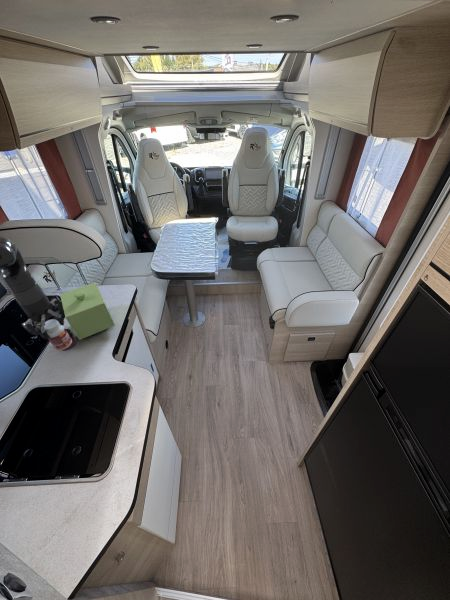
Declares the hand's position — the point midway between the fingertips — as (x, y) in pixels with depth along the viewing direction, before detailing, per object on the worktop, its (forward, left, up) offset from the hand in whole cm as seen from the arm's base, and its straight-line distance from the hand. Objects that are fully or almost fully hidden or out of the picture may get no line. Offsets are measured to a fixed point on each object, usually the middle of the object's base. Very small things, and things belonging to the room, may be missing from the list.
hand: (54, 331), depth 93 cm
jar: (-15, +9, -23) cm, 29 cm away
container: (-11, +23, -23) cm, 35 cm away
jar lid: (-15, +9, -18) cm, 25 cm away
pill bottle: (0, 0, -8) cm, 8 cm away
